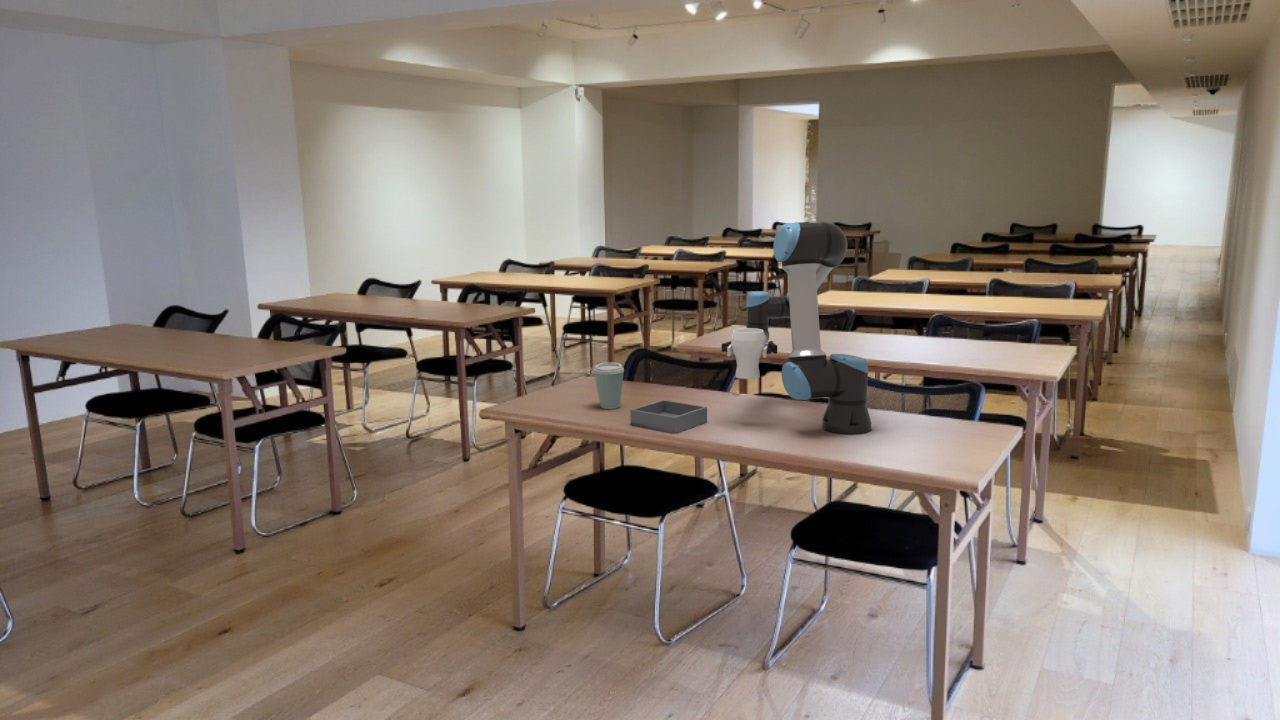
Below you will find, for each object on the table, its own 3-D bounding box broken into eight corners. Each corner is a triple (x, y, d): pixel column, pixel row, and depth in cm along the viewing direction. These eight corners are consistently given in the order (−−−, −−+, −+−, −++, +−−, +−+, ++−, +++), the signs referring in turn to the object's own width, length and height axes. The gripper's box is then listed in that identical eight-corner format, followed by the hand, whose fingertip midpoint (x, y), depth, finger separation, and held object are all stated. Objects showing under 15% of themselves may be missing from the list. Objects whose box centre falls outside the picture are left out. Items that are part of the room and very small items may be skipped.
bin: (707, 422, 297) (707, 407, 296) (674, 433, 283) (675, 417, 282) (663, 414, 307) (663, 399, 306) (630, 424, 294) (630, 409, 293)
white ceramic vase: (766, 380, 287) (767, 332, 284) (732, 380, 287) (733, 333, 284) (761, 373, 297) (762, 327, 294) (729, 373, 297) (729, 327, 294)
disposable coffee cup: (624, 410, 312) (623, 367, 310) (592, 410, 313) (591, 367, 310) (625, 403, 323) (624, 361, 320) (594, 403, 323) (594, 361, 320)
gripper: (788, 353, 306) (783, 365, 284) (719, 351, 311) (709, 363, 290) (789, 331, 304) (783, 342, 283) (720, 329, 309) (709, 339, 288)
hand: (746, 352), depth 286 cm, fingers closed on white ceramic vase, 11 cm apart
